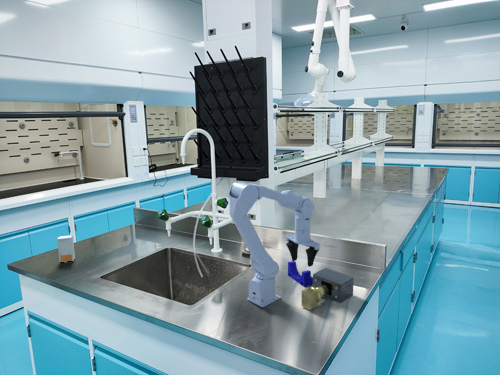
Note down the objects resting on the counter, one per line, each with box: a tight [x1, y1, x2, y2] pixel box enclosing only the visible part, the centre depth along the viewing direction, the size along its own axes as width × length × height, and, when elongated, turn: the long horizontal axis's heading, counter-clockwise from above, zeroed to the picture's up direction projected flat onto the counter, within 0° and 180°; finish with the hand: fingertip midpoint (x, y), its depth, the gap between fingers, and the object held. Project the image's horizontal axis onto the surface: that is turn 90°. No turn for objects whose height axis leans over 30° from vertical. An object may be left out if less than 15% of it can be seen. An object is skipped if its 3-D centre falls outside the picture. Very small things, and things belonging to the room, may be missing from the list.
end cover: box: [301, 285, 328, 311], centre depth 120 cm, size 10×6×6 cm, turn 133°
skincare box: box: [56, 234, 76, 263], centre depth 164 cm, size 6×4×12 cm
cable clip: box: [287, 260, 313, 288], centre depth 139 cm, size 12×4×6 cm, turn 25°
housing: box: [312, 267, 355, 304], centre depth 127 cm, size 9×12×7 cm
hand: (302, 263), depth 131 cm, fingers open, 7 cm apart
